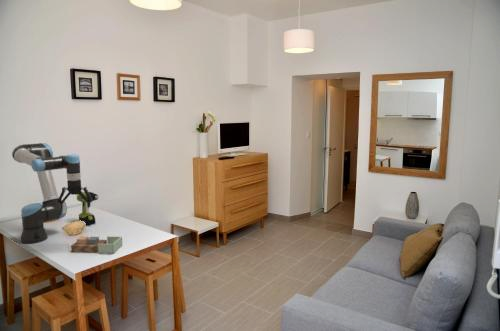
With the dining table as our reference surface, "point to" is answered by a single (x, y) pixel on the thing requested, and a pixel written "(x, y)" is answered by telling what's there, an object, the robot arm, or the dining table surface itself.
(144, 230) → the dining table surface
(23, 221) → the robot arm
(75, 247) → the walnut board
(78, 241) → the peach square block
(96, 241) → the grey square block
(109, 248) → the tray
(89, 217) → the cordless drill
